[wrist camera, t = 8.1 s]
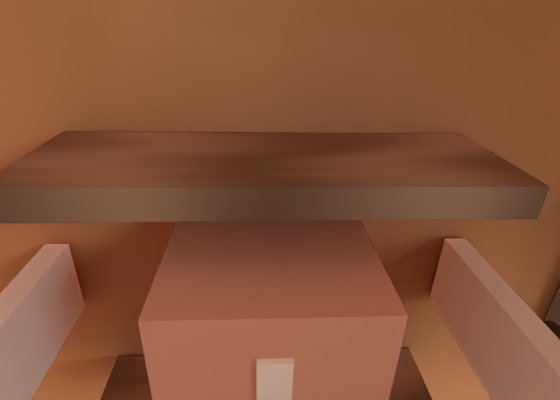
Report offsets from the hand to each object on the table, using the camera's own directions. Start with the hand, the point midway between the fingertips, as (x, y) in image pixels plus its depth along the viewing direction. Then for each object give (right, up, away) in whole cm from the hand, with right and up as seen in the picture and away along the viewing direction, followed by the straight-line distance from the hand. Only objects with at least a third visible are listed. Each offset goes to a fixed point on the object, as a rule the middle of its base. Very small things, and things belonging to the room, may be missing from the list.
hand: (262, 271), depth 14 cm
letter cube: (0, 0, 0) cm, 0 cm away
